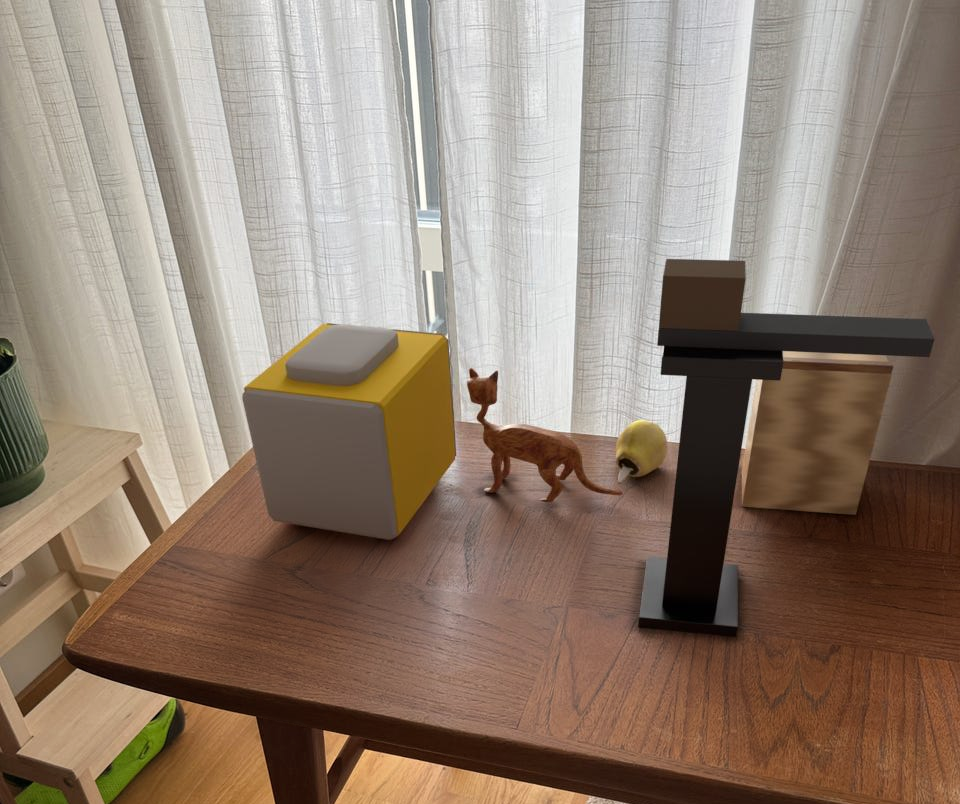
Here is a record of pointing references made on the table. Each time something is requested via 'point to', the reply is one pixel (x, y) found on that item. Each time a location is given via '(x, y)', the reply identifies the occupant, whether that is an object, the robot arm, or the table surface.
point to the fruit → (640, 449)
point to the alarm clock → (353, 428)
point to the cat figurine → (527, 444)
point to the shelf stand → (704, 491)
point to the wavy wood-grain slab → (814, 432)
